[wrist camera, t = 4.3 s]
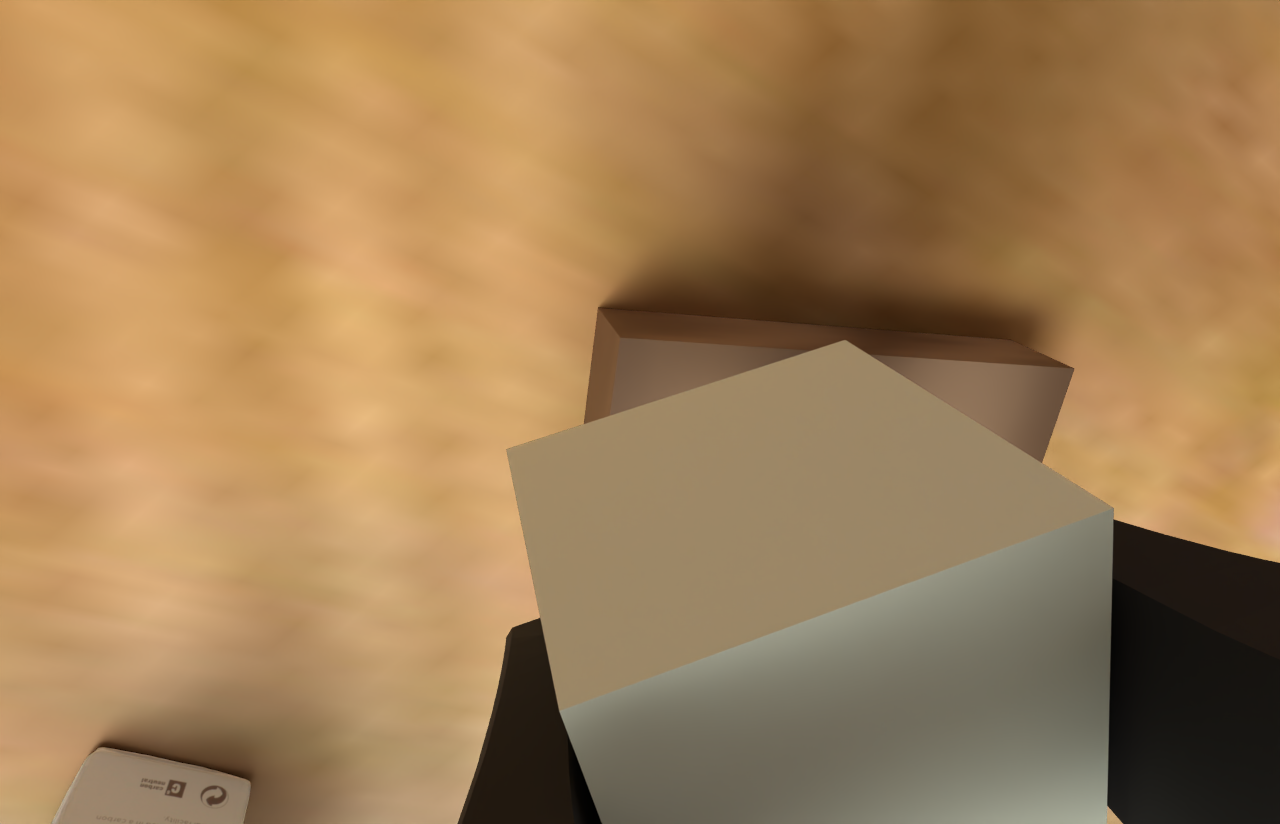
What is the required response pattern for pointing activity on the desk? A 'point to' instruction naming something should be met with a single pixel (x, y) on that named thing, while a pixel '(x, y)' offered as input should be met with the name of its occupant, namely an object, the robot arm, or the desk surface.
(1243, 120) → the desk surface
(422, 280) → the desk surface
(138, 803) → the skincare box
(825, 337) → the walnut box
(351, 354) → the desk surface
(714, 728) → the white block
